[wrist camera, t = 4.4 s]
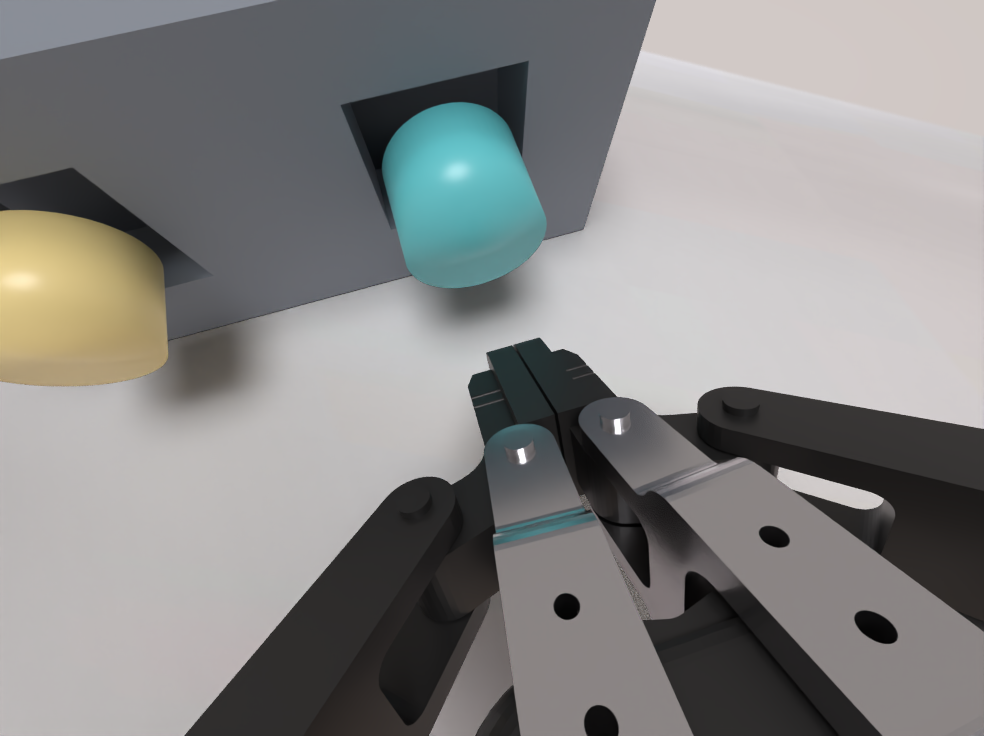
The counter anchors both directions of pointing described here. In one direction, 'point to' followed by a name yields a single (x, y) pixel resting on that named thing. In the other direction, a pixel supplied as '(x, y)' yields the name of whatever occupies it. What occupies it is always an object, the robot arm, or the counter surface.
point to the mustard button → (77, 302)
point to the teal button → (461, 196)
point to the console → (290, 126)
